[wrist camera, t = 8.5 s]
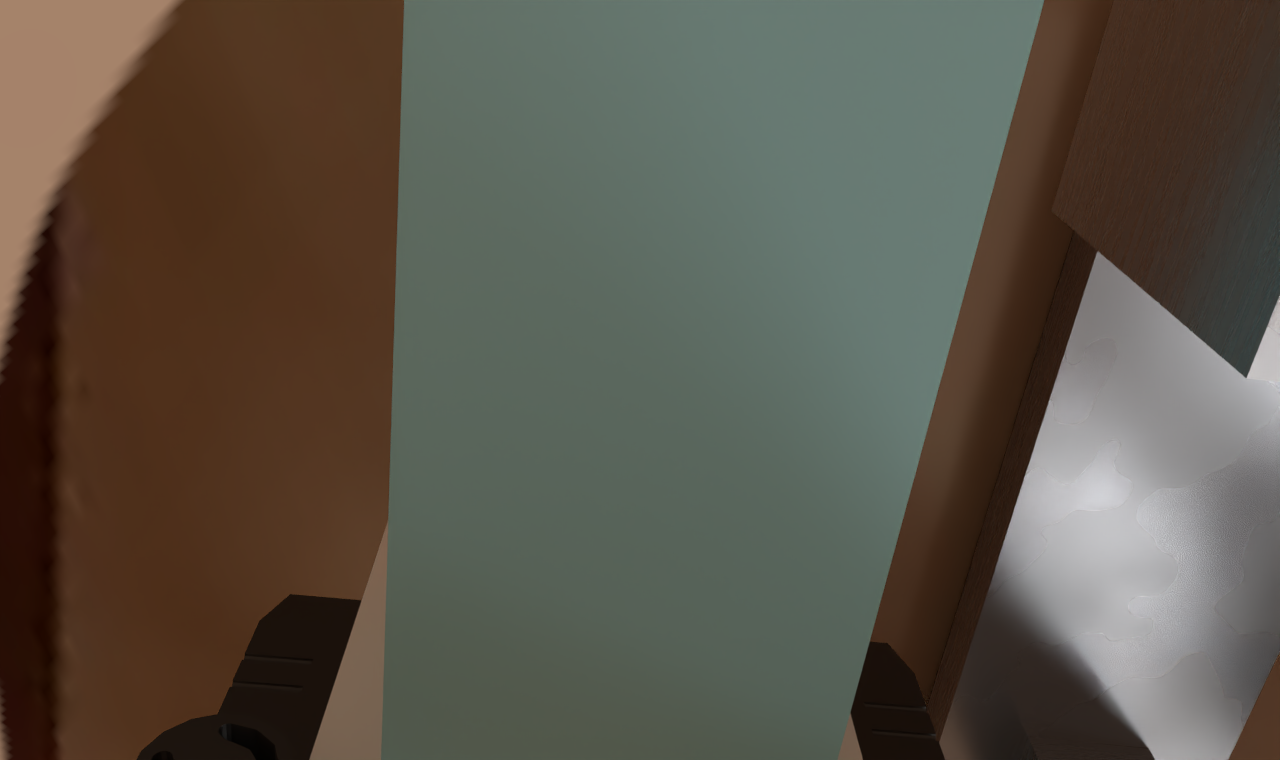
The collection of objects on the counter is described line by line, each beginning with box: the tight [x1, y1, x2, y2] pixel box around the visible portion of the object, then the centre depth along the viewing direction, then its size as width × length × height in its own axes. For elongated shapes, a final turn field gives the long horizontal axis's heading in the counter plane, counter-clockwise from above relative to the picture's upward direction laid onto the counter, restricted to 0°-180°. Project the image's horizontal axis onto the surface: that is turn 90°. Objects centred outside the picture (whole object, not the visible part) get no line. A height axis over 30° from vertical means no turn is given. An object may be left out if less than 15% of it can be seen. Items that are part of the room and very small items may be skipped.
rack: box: [926, 0, 1280, 760], centre depth 14 cm, size 10×22×13 cm, turn 173°
